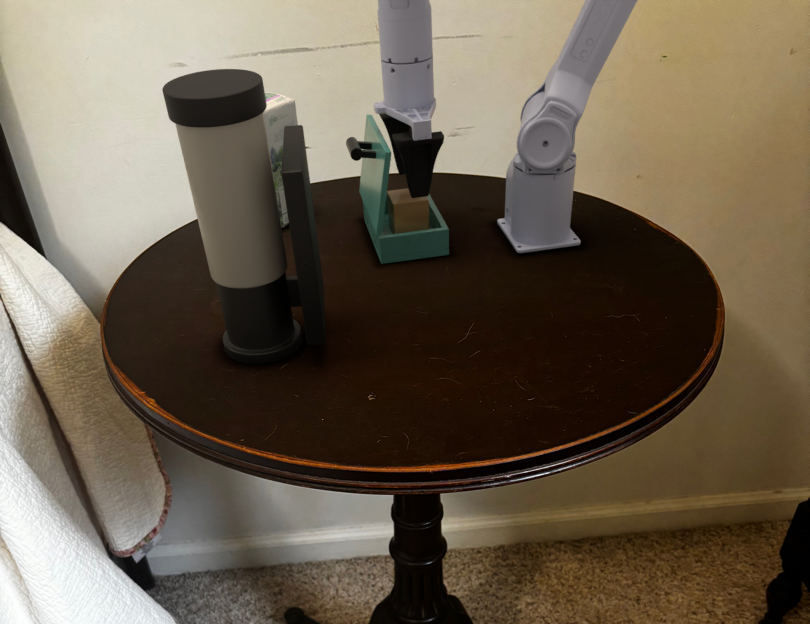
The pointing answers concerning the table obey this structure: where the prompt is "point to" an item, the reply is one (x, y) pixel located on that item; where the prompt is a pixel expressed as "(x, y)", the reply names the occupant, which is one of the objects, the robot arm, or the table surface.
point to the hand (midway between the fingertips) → (413, 184)
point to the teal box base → (410, 238)
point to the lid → (372, 170)
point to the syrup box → (278, 141)
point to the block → (407, 212)
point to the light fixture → (249, 213)
